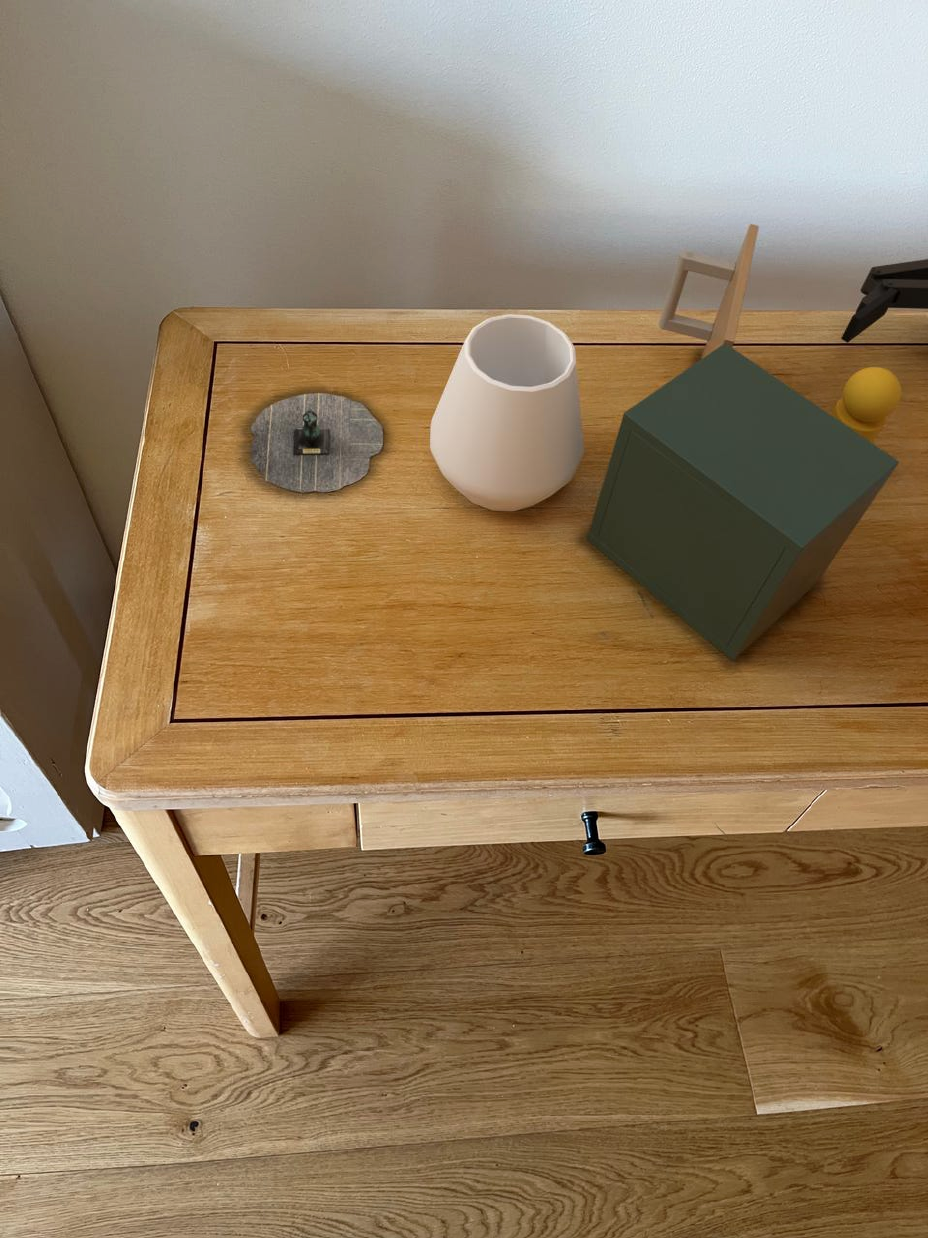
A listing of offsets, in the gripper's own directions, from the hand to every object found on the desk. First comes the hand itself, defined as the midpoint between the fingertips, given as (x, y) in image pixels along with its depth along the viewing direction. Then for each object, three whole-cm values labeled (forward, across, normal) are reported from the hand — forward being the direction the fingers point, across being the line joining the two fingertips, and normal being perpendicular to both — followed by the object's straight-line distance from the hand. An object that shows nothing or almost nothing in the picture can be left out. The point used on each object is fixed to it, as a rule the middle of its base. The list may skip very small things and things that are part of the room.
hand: (911, 369), depth 84 cm
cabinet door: (+14, +15, -7) cm, 22 cm away
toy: (+8, 0, -7) cm, 11 cm away
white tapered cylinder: (+33, +19, -7) cm, 38 cm away
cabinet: (+27, +1, -7) cm, 27 cm away
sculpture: (+43, +32, -7) cm, 54 cm away
